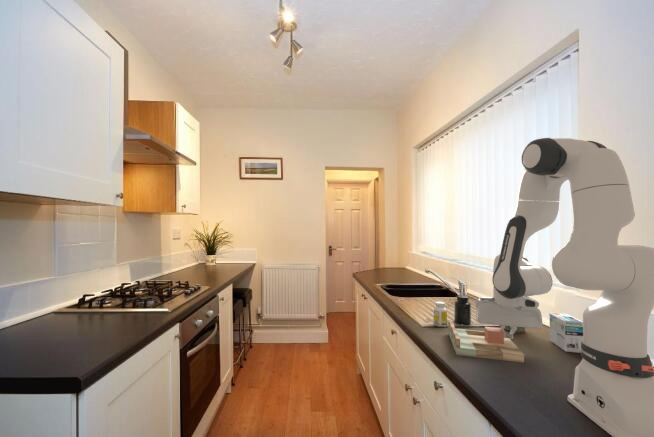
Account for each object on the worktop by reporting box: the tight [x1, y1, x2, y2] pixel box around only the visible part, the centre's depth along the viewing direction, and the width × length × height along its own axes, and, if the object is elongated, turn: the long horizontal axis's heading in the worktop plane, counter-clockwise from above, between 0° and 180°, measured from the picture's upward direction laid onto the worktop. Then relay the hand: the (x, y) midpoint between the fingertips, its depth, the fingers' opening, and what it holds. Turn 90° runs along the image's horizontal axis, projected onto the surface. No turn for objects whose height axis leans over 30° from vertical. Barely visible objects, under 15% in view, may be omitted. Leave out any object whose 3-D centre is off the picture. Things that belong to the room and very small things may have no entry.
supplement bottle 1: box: [433, 301, 448, 328], centre depth 130 cm, size 5×5×10 cm
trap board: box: [448, 320, 525, 364], centre depth 106 cm, size 20×20×6 cm
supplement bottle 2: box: [453, 294, 472, 326], centre depth 133 cm, size 7×7×12 cm
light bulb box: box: [548, 312, 583, 354], centre depth 107 cm, size 11×7×11 cm, turn 168°
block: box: [484, 326, 504, 344], centre depth 106 cm, size 5×5×4 cm
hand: (507, 337), depth 104 cm, fingers closed
